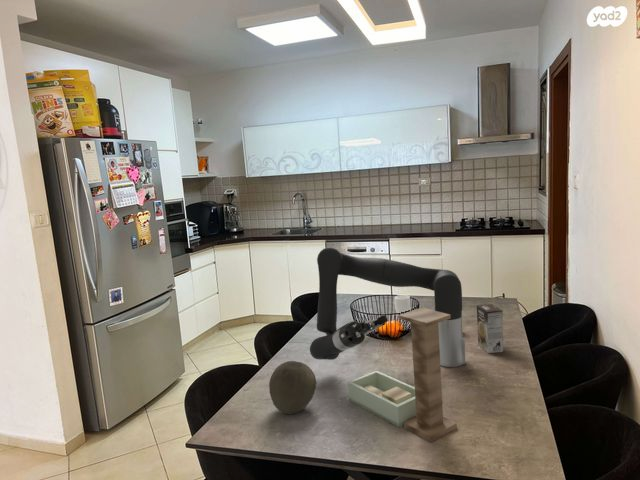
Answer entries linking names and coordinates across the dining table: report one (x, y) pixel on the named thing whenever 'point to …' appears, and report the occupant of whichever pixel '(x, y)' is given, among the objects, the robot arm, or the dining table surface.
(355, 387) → the open box
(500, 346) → the coffee box
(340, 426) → the dining table surface
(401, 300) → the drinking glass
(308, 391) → the cantaloupe
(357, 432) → the dining table surface
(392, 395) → the peg
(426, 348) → the shelf stand
